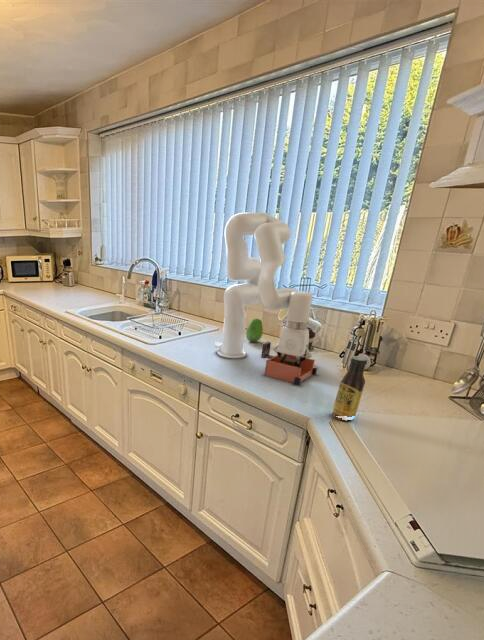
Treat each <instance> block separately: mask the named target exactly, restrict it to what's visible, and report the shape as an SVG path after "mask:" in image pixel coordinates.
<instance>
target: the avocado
mask: <svg viewBox="0 0 484 640" xmlns="http://www.w3.org/2000/svg"><path fill="white" fill-rule="evenodd" d="M263 332H264V329H263V323H262V320H261V319H259V318H253V319H252V320H251V321H250V322H249V324H248V326H247V328H246V330H245V337H246V339H247V340H248V341H249V342H250V343H257V342H259V341H260V340H261V339H262V336H263Z"/></svg>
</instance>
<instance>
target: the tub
mask: <svg viewBox="0 0 484 640" xmlns="http://www.w3.org/2000/svg"><path fill="white" fill-rule="evenodd" d="M271 346H272V342H271V341H266V342H264V343H262V348H261V353H260V354H261V355H260V358H261V359H266V362H265V369H264V376H268V377H271V378H274V379H279V380H281V381H286V382H289V383H292V384H294V379H295V377H297V378H301V382H303V381H304V380H306V379H308V378H309V377H311V376H312V372H313V367H314V366H315V361H316V359H312V358H308V359H306V360H304V361H302V362H301V366H300V368H299V367H295V366H291V365H286V364H282V363H280V362H281V360H280V357H279V356H278V354H276V355H272V354H270V352H271ZM286 358H293V359H296V356H293V355H288V354H287V356H286ZM302 358H303V357H302ZM314 368H315V367H314Z"/></svg>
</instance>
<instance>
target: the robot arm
mask: <svg viewBox="0 0 484 640" xmlns="http://www.w3.org/2000/svg"><path fill="white" fill-rule="evenodd" d="M244 236H254V240H255V243H256V247H257V251H258V255H259V259H258V257H254V256H251V257H249V255H248V252H249V251H248V243H247V241H246V239H245V238H244ZM290 237H291V230H290V226H289V225H288V224H287V223H286V222H284V221H283V220H280V219H279V218H276V217H274V216H272V215H270V214H268V213H266V212H239V213H236V214H234V215H232V216H231V217H230V218H229V219H228V220H227V222H226V224H225V228H224V241H225V248H226V276H227V278H228V280H229V281H232V282H243V281H244V282H243V283H237V284H232V285H230V286H228V287H227V288H226V289H225V290H224V293H223V305H224V313H223V326H222V337H221V342H218V341H215V343H214V348H218V350H217V353H216V354H217V355H218V356H220V357H222V358H226V359H241V358H245V357H246V355H247V352H246V351H244V342H245V336H246V327H247V312H246V309H245V307H246V306H252V305H257V304H258V303H259V302H260V301H261V302H262V305H263V306H264V307H265V308H266V309H267V310H270V311H276V310H283V309H287V315H286V318H285V319H283V320H282V324H284V325H285V326H283V327H282V329H281V332H280V335H279V338H278V343H277V345H276V346H275V347H274V348H273V351H274V352H275V353H276V355H278V356H279V357H280V360H281V362H280V363H282V362H283V360H284V359H286V356H287V354H288V355H293V356H296V363H295V367H299V368H300V366H301V362H302V361H304V360H306V359H312V357H313V356H312V355H313V354H312V353H311V350H310V351H309V349H308V345H309V330H308V329H307V327H309V321H310V320H309V319H310V315H311V308H312V303H313V294H312V293H311V292H310V291H304V290H298V289H295V288H292V287H285V288H278V289H277V287H276V284H275V275H276V271H278V269H279V267H281V266H282V265H283V264H284V263H285V262H286V256H285V252H284V249H283V245H285V244H286V243H287V242H288V241H289V240H290ZM304 354H306V356H304V357H303V358H302V356H303V355H304Z"/></svg>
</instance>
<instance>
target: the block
mask: <svg viewBox="0 0 484 640" xmlns="http://www.w3.org/2000/svg"><path fill="white" fill-rule="evenodd" d="M295 363H296V359H293V358H286V359H284V360H283V362H282V364H286V365H291V366H295Z"/></svg>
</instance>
